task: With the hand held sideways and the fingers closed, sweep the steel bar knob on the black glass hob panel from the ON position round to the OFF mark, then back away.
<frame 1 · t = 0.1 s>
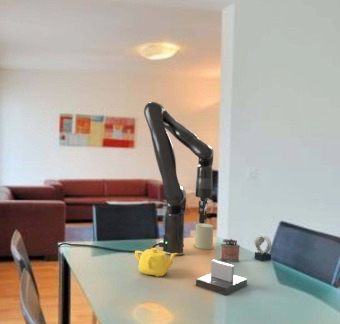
hand: (202, 221, 183), 17 cm above the table, tool pointing down, fingers open, 8 cm apart
hob panel: (221, 285, 146), on the table
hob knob: (222, 270, 145), point 6 cm above the table, hinge at 90.0°
teapot: (155, 273, 158), on the table
lighter: (229, 261, 178), on the table
watch: (262, 259, 182), on the table
can: (203, 247, 202), on the table
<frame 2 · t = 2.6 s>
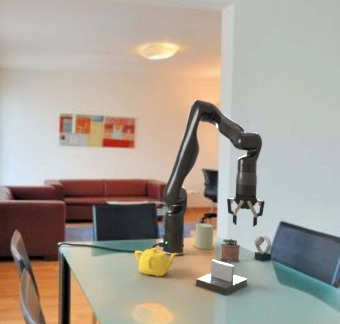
hand: (244, 225, 152), 22 cm above the table, tool pointing down, fingers open, 6 cm apart
nothing on the table moved.
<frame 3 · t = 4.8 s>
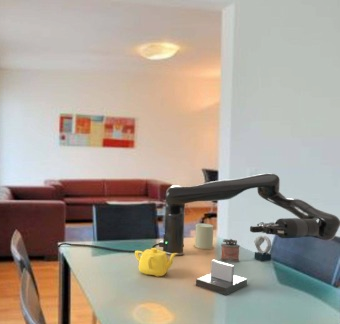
hand: (251, 229, 145), 22 cm above the table, tool horizontal, fingers closed
nothing on the table moved.
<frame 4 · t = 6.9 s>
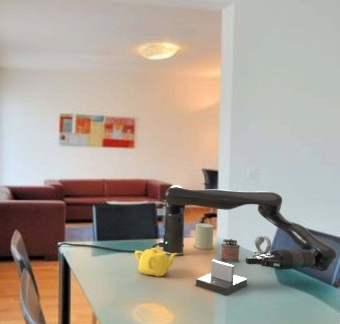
hand: (247, 261, 144), 10 cm above the table, tool horizontal, fingers closed
nothing on the table moved.
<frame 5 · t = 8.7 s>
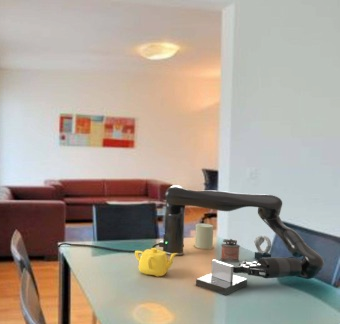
hand: (233, 269, 143), 7 cm above the table, tool horizontal, fingers closed
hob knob: (222, 270, 145), point 6 cm above the table, hinge at 83.5°, touching gripper
everything else where it was.
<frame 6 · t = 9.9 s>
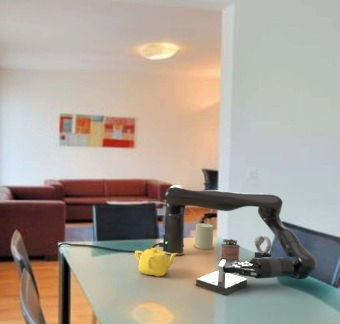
hand: (224, 269, 142), 7 cm above the table, tool horizontal, fingers closed
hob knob: (222, 270, 145), point 6 cm above the table, hinge at 20.8°, touching gripper
everything else where it was.
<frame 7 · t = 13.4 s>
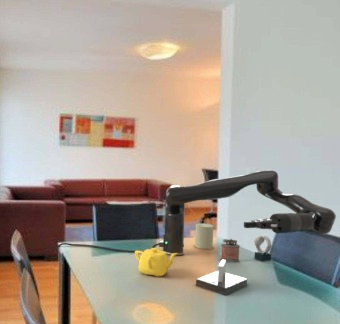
hand: (244, 225, 146), 23 cm above the table, tool horizontal, fingers closed
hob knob: (222, 270, 145), point 6 cm above the table, hinge at 20.7°
everything else where it was.
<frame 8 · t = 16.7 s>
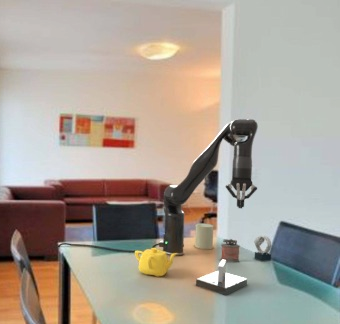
hand: (240, 208, 162), 27 cm above the table, tool pointing down, fingers closed
nothing on the table moved.
at the end: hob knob at +21° (first picture: +90°) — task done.
